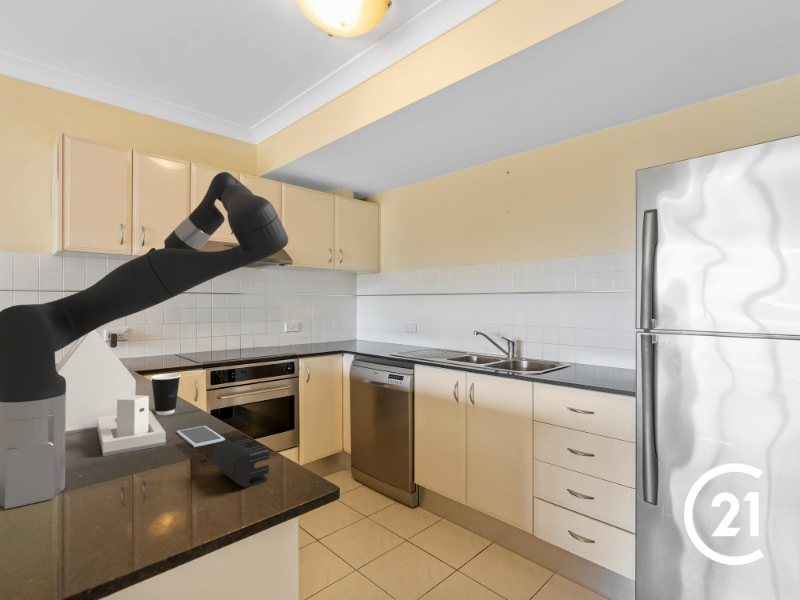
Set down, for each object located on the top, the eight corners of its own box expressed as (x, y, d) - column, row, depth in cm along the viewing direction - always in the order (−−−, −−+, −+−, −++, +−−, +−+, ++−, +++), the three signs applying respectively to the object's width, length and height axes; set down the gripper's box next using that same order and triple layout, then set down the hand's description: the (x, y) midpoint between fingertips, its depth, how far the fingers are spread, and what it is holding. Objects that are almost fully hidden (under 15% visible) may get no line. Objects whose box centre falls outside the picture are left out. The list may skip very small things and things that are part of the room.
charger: (148, 437, 102) (149, 395, 102) (134, 443, 97) (135, 400, 97) (131, 436, 102) (131, 395, 102) (116, 442, 98) (117, 399, 98)
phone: (224, 442, 103) (224, 438, 103) (194, 449, 98) (194, 444, 98) (205, 429, 113) (205, 425, 113) (176, 434, 108) (176, 430, 108)
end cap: (211, 476, 82) (211, 442, 82) (246, 466, 87) (246, 434, 87) (232, 494, 75) (233, 456, 75) (269, 482, 80) (270, 446, 80)
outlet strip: (165, 445, 99) (165, 431, 99) (103, 456, 91) (103, 442, 91) (149, 420, 118) (149, 409, 118) (96, 428, 110) (97, 416, 110)
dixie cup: (179, 414, 124) (179, 377, 124) (148, 417, 121) (148, 379, 121) (181, 408, 131) (181, 372, 131) (152, 410, 128) (152, 374, 128)
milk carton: (45, 434, 105) (46, 334, 105) (45, 420, 117) (46, 330, 117) (135, 421, 118) (136, 331, 118) (127, 409, 129) (128, 328, 129)
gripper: (180, 244, 102) (136, 291, 103) (213, 251, 116) (174, 292, 118) (160, 223, 103) (116, 269, 104) (195, 232, 117) (156, 273, 118)
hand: (147, 281), depth 111 cm, fingers open, 8 cm apart
